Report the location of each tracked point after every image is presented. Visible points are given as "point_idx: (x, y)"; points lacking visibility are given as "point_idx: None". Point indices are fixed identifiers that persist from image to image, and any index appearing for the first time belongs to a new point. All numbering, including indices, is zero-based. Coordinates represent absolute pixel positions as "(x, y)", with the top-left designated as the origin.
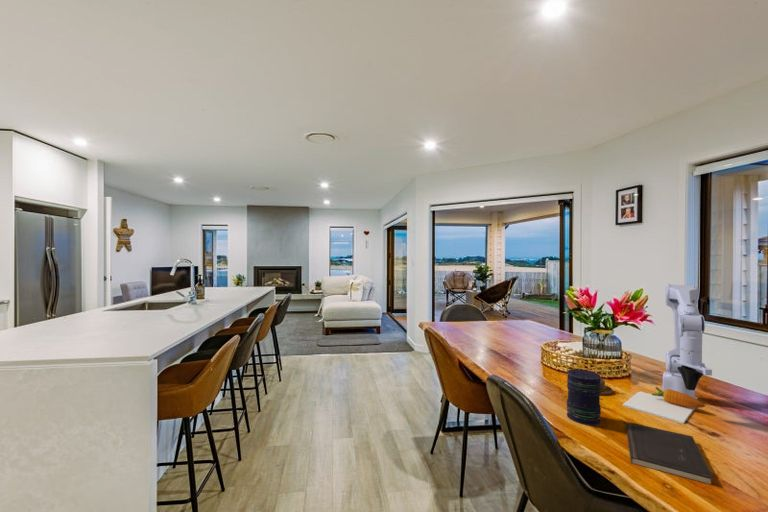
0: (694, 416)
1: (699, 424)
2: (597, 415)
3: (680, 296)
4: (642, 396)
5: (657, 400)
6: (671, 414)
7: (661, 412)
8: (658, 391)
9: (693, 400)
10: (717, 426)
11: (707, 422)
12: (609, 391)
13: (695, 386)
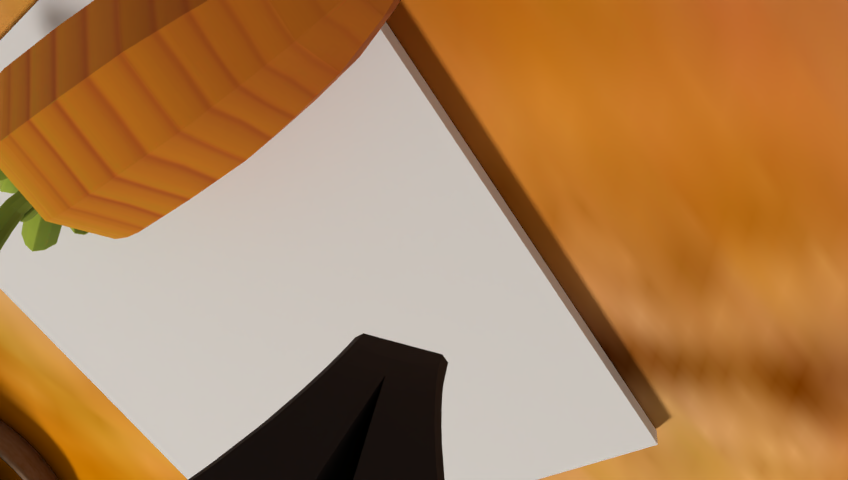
0: (517, 141)
1: (708, 294)
2: None
3: None
4: (40, 264)
5: None
6: (483, 393)
7: None
8: (21, 220)
9: (326, 42)
10: (821, 137)
11: (693, 149)
12: (21, 477)
13: (437, 422)
